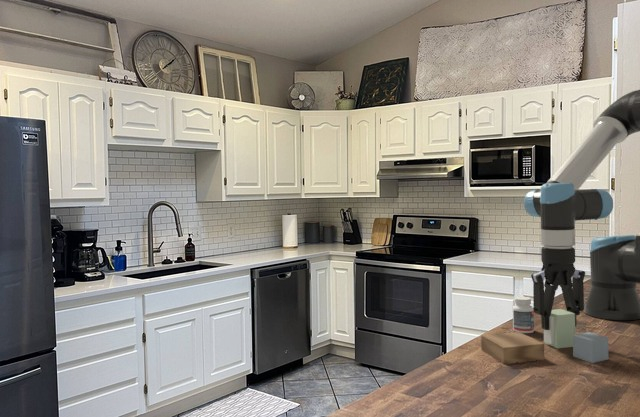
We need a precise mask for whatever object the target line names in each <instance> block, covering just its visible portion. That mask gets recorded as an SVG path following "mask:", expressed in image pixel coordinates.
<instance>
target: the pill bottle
mask: <svg viewBox="0 0 640 417" xmlns="http://www.w3.org/2000/svg"><path fill="white" fill-rule="evenodd" d="M514 304H515V305H513V307H512V330H513V331H514V332H521V333H523V334H532V333H534V332H535V318H534V315H535V314H534V310H533V306H531V305H532V298H531V297H528V296H516V297H515V298H514Z"/></svg>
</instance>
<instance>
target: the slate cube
mask: <svg viewBox="0 0 640 417" xmlns="http://www.w3.org/2000/svg"><path fill="white" fill-rule="evenodd" d="M572 350H573V351H572V355H573V357H574V358H577V359H580V360H583V361H586V362H588V363H591V364H595V363H599V362H602V361H606V360H607V361H608V360H609V337H607V336H604V335H601V334H599V333H598V334H597V333H593V332H590V331H587V332H583V333H577V334H576V333H575V335H573V347H572Z"/></svg>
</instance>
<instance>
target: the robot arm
mask: <svg viewBox="0 0 640 417" xmlns="http://www.w3.org/2000/svg"><path fill="white" fill-rule="evenodd" d="M601 112H602V113H600V114H599V116H598V117H596V119H595V120H594V121H593V127H592V129H591V130H590V131H589V133H588V134H587V135H586V136H585V138H584V139H582V141H581V142H580V143H579V144H578V145H577V147H576V148H575V149H574V150H573V151H572V153H571V154H570V155H569V156H568V157H567V159H565V161H563V163H562V164H561V165H560V166H559V168H558V169H557V170H556V171H555V173H553V175H552V176H551V177H550V178H549V179H548V180H547V182H546V183H544V184H542V185H541V187H540V189H535V190H534V189H532V190H530V191H528V192H527V193H526V194H525V197H524V200H523V206H524V210H525V211H526V212H527V214H528V215H529V216H532V217H534V218H540V241H541V242H540V243H541V245H542V247H541V249H540V251H541V253H540V254H541V255H540V256H541V259H540V261H541V263H542V267H541V269H540V271H539V272H537V273H535V272H533V273H531V275H530V277H531V280H532V282H533V283H532V284H533V287H532V288H533V289H532V290H533V291H532V292H533V299H532V302H533V303H532V304H533V306H532V307H533V310H534V313H535V314H537V315H540V316H541V324H540V325H541V326H540V327H541V329H543V342H544V341H545V342H547V343H549V344H554V317H551V311H552V310H553V307H554V306H553V304H554V300H555V297H556V291H557V290H558V289H559V287H560V288H561V292H562V296H563V301H564V305H565V310H566V311H569V312H572V313H575V328H576V327H577V324H578V323H577V316H579V315H580V314H581V312H584V313H585V314H586V315H588V316H591V317H592V318H593V317H595V318H598V319H603V320H604V319H605V320H612V321H613V320H614V321H634V320H640V296H639V293H638V291H637V284H640V231H638V232H637V233H636V234H635V235H634V234H628V235H627V234H625V235H612V236H601V237H595V238H593V239H592V240H591V241H590V251H589V257H590V259H589V260H590V263H589V264H590V289H589V291H588V296H587V298H586V302H585V298H584V297H585V294H584V293H585V292H584V290H585V288H584V287H585V286H584V280H585V277H586V276H585V275H586V271H585V270H580V269H576V267H575V265H574V264H575V262H576V248H575V247H574V246H575V245H576V229H575V228H576V221H587V220H588V221H589V220H590V221H591V220H595V221H596V220H597V221H598V220H600V219H605V218H607V217H609V216H610V215H611V214H612V212H613V209H614V198H613V197H612V195H611V194H610V193H609V192H608V191H607V190H605V189H601V188H600V189H599V188H598V189H597V188H591V189H580V188H581V187H582V186H583V185H584V183H585V182H586V181H587V179H588V178H589V177H590V176H591V175H592V174H593V172H594V171H595V170H596V169H597V168H598V167H599V166H600V164H602V162H603V160H604V159H605V158H606V157H607V156H608V155H609V153H611V151H612V150H613V149H614V147H615V146H616V145H617V144H621V143H623V142H625V140H627V138H628V137H629V136H630V135H632V134H635V133H638V132H640V89H636V90H632V91H630V92H628V93H626V94H624V95H622V96H620V97H619V98H617V99H616V100H615V101H614V102H612V103H611V104H610V105H608V106H607V108H606V109H604V110H603V111H601Z"/></svg>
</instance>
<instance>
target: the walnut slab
mask: <svg viewBox="0 0 640 417" xmlns="http://www.w3.org/2000/svg"><path fill="white" fill-rule="evenodd" d="M480 338H481V339H480V340H481V341H480V344H481V351H482V352H483V353H485V354H487V355H488V356H490V357H491V358H493V359H495V360H496V361H498V362H499V363H501V362H502V363H501V364H503V365H506V364H505V363H509V364H515V363H516V362H518V363H527V361H528V362H534V361H536V360H537V361H545V343H544V342H541V341H539V340H538V339H535V338H533V337H531V336H529V335H526V333H521V332H515V331H514V332H513V331H511V332H505V333H503V332H502V333H495V334H484V335H483V334H482V335H481V336H480Z"/></svg>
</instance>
